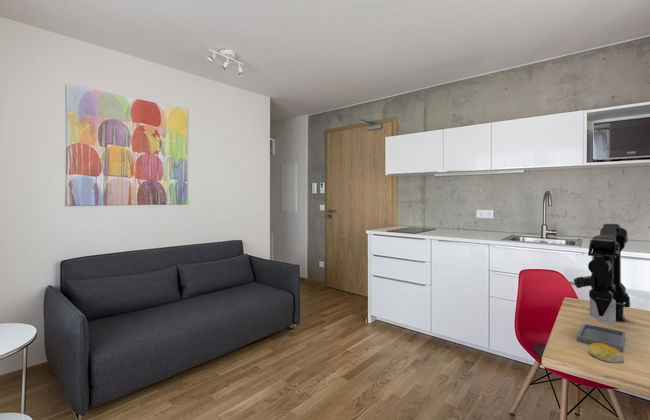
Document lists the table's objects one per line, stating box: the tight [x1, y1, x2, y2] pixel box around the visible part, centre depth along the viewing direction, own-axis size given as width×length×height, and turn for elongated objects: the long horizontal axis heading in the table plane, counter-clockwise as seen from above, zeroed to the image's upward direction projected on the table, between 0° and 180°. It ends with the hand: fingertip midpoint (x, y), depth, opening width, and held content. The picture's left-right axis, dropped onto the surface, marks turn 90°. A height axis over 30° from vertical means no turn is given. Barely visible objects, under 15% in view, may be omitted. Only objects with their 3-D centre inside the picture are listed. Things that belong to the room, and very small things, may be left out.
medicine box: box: [589, 297, 617, 324], centre depth 122 cm, size 8×4×9 cm, turn 168°
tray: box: [576, 323, 626, 353], centre depth 122 cm, size 18×13×2 cm
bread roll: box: [588, 343, 625, 364], centre depth 109 cm, size 8×9×4 cm
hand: (602, 312), depth 122 cm, fingers closed on medicine box, 9 cm apart
